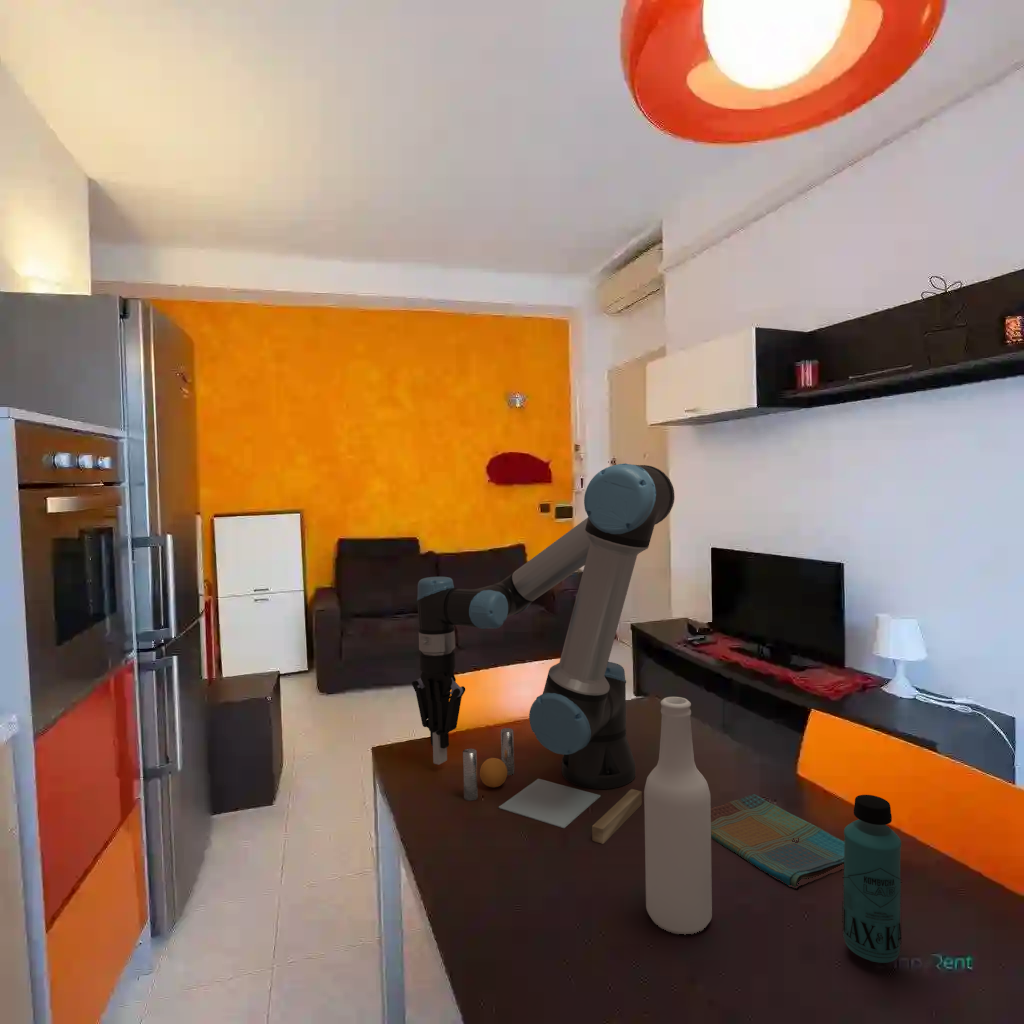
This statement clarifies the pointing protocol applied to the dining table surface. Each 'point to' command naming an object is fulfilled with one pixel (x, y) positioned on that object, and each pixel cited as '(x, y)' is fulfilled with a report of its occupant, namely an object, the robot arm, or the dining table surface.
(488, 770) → the ball
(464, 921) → the dining table surface
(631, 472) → the robot arm
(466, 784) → the post left
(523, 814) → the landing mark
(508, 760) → the post right
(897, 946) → the beverage bottle
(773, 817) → the dish towel
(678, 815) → the alcohol
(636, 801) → the wall
